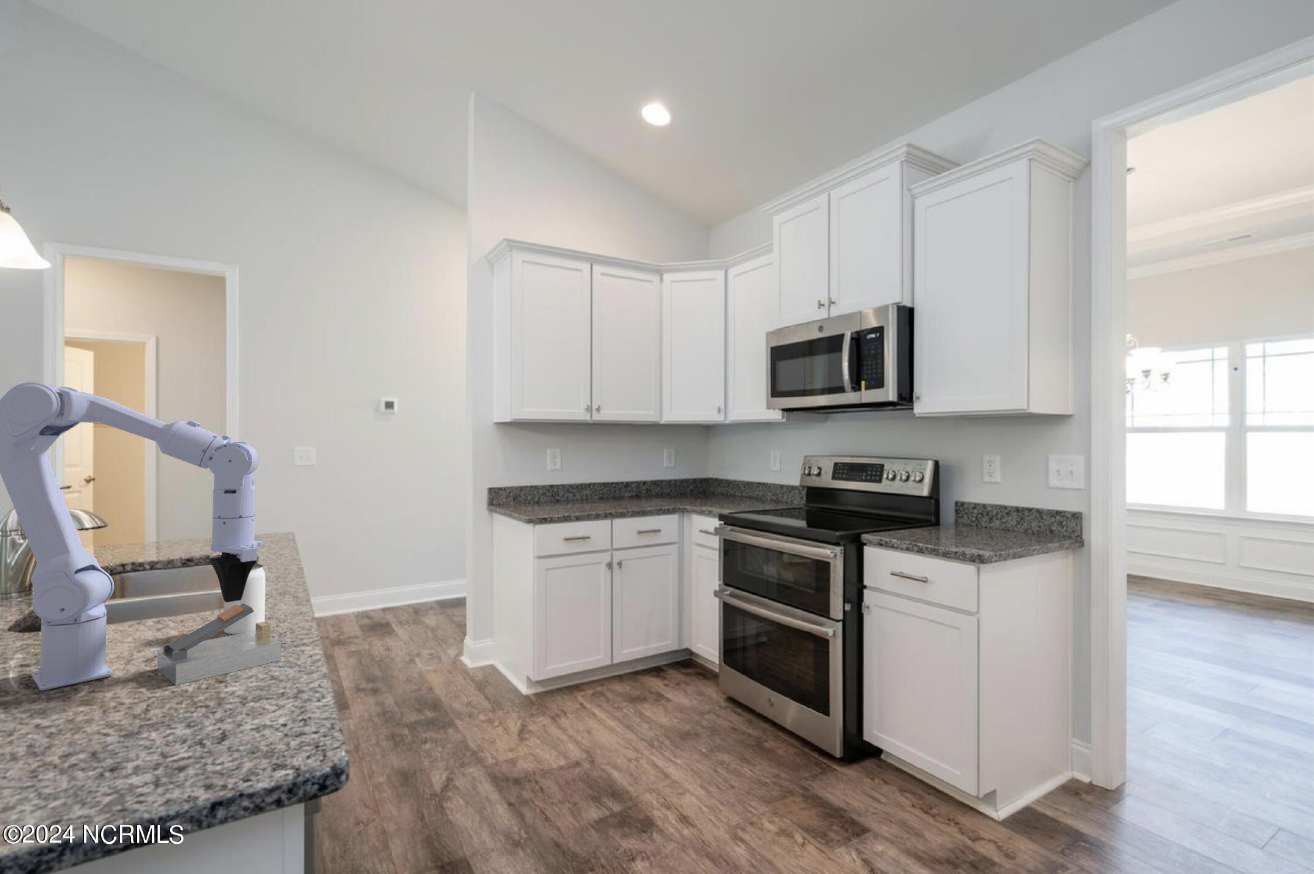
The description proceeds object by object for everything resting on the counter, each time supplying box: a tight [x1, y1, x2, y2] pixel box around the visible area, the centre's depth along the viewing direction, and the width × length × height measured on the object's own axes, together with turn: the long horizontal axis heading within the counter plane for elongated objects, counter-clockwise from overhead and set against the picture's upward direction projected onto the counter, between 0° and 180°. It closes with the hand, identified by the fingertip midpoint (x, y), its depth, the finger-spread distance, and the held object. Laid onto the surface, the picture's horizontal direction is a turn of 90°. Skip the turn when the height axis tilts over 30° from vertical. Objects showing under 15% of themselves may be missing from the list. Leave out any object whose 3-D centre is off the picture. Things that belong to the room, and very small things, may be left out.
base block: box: [156, 621, 282, 686], centre depth 100 cm, size 10×14×5 cm
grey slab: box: [169, 604, 254, 651], centre depth 99 cm, size 4×11×1 cm, turn 141°
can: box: [223, 563, 266, 635], centre depth 118 cm, size 6×6×12 cm
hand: (232, 600), depth 101 cm, fingers closed
